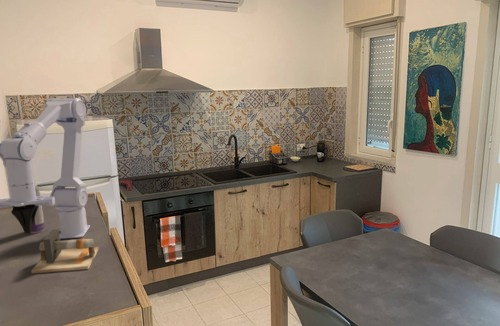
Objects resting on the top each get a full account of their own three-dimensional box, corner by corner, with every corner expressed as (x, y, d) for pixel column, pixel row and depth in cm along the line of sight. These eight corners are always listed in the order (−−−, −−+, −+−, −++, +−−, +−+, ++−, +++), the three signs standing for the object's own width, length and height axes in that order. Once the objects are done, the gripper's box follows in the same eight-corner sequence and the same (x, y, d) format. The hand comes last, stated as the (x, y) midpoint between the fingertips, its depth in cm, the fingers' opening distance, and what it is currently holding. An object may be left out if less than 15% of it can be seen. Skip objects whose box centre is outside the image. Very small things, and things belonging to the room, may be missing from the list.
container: (26, 231, 123) (19, 188, 120) (39, 226, 127) (33, 185, 124) (34, 234, 121) (28, 190, 117) (48, 229, 125) (42, 186, 121)
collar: (55, 251, 106) (52, 229, 104) (61, 251, 106) (58, 229, 104) (46, 263, 99) (43, 239, 98) (53, 262, 99) (49, 239, 98)
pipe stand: (48, 252, 108) (46, 234, 106) (98, 249, 110) (96, 230, 108) (31, 273, 96) (28, 252, 95) (88, 268, 98) (85, 248, 97)
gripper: (-17, 189, 92) (-8, 239, 95) (45, 186, 94) (52, 235, 97) (-3, 181, 99) (5, 229, 102) (55, 179, 101) (61, 225, 104)
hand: (28, 231), depth 100 cm, fingers closed
